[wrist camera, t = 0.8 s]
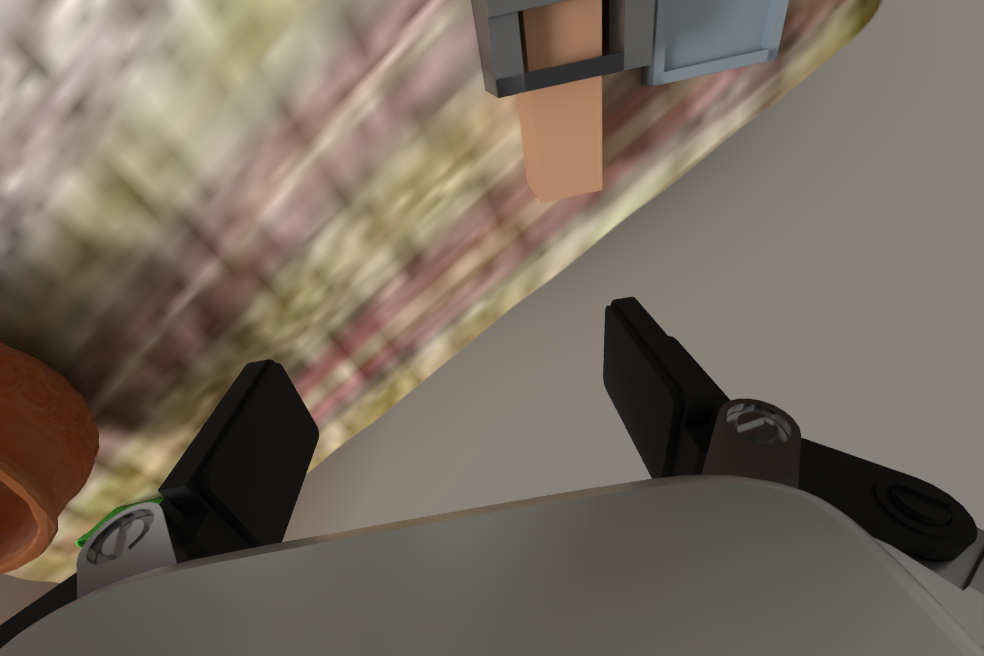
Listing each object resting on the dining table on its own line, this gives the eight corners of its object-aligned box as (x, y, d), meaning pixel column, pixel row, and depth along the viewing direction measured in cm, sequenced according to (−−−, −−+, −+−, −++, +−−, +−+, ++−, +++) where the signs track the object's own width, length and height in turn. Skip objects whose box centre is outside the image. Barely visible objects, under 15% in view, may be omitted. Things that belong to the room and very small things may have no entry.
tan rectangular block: (506, 3, 28) (521, -9, 23) (572, -11, 28) (601, -26, 23) (527, 183, 36) (541, 202, 31) (579, 172, 36) (602, 190, 31)
